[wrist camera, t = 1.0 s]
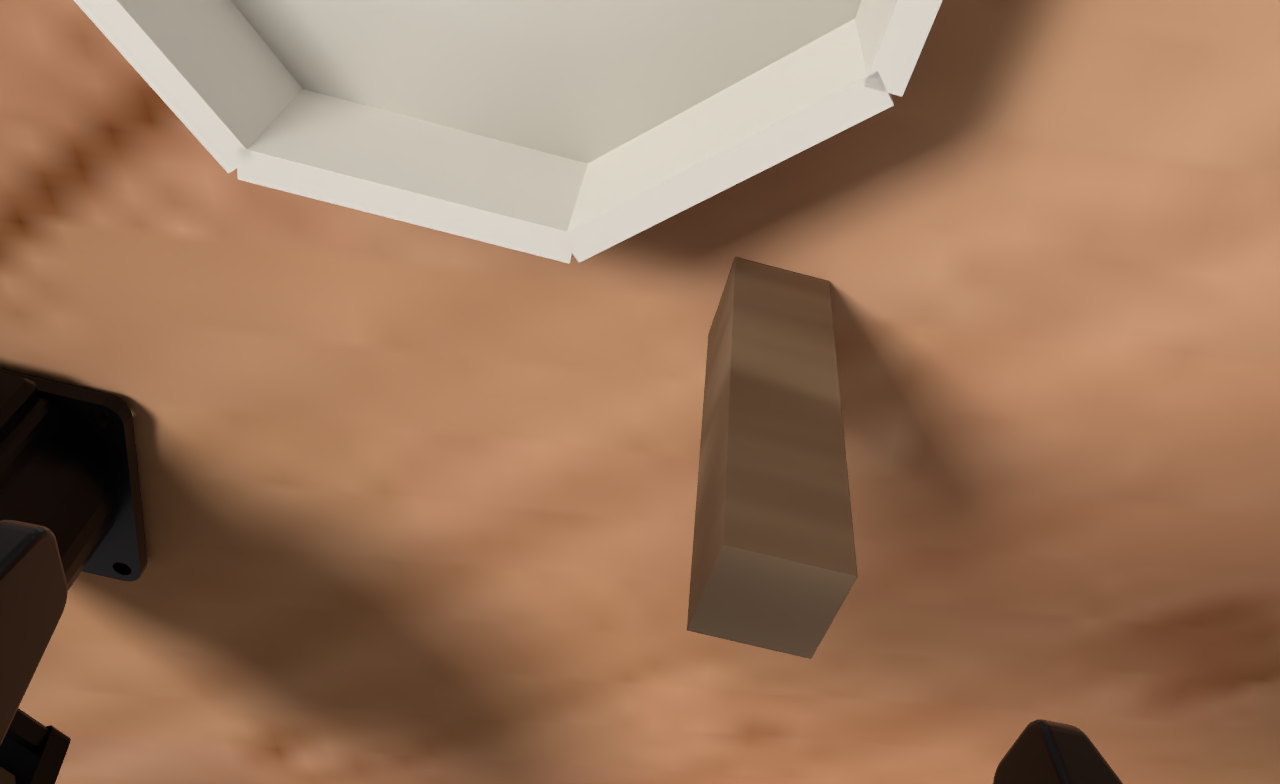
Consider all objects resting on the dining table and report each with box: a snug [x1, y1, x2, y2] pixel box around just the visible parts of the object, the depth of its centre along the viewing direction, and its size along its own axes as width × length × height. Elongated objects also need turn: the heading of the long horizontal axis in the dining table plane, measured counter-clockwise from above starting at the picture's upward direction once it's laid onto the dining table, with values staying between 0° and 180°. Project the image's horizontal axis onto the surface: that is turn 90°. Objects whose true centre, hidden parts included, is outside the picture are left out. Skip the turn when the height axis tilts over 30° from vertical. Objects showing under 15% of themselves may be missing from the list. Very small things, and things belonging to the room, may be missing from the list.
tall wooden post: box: [687, 257, 858, 659], centre depth 18 cm, size 2×2×8 cm
